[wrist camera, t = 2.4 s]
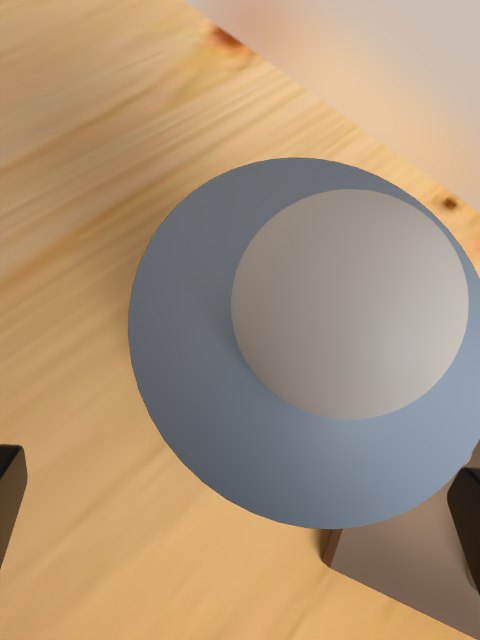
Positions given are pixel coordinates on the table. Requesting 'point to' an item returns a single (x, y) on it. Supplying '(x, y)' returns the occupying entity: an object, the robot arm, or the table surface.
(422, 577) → the brown pegged base plate
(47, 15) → the table surface
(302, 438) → the pepper mill
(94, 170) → the table surface
